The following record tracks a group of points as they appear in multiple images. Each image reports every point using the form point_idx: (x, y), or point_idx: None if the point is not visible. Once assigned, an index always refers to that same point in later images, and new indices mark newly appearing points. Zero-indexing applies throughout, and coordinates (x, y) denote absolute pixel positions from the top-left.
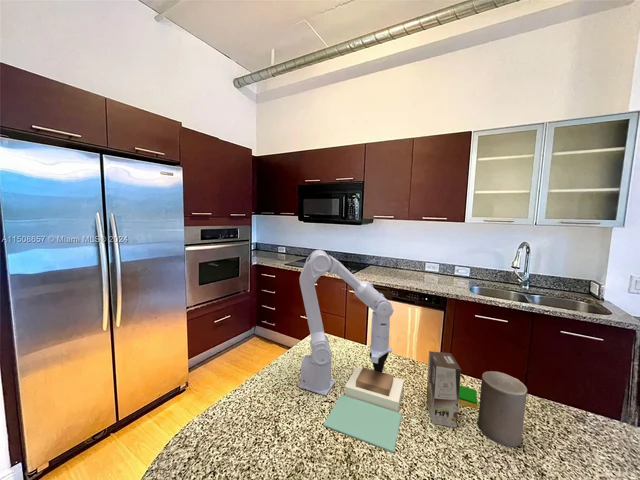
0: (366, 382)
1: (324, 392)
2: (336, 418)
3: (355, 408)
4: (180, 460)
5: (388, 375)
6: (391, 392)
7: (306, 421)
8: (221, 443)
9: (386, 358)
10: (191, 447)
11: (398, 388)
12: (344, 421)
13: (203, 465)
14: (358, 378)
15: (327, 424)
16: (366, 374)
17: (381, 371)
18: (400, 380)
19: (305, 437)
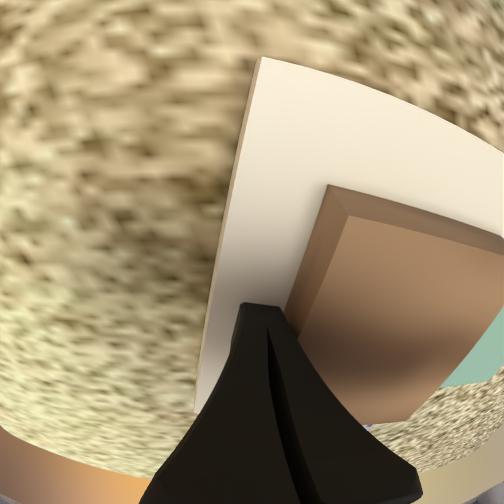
0: (435, 386)
1: (367, 425)
2: (482, 367)
3: None
4: (471, 449)
5: (351, 270)
6: (472, 214)
7: (461, 405)
8: (463, 445)
9: (414, 495)
10: (457, 455)
11: (430, 146)
12: (498, 348)
13: (486, 436)
14: (389, 419)
15: (492, 374)
16: (345, 404)
17: (295, 339)
18: (288, 99)
19: (498, 387)
